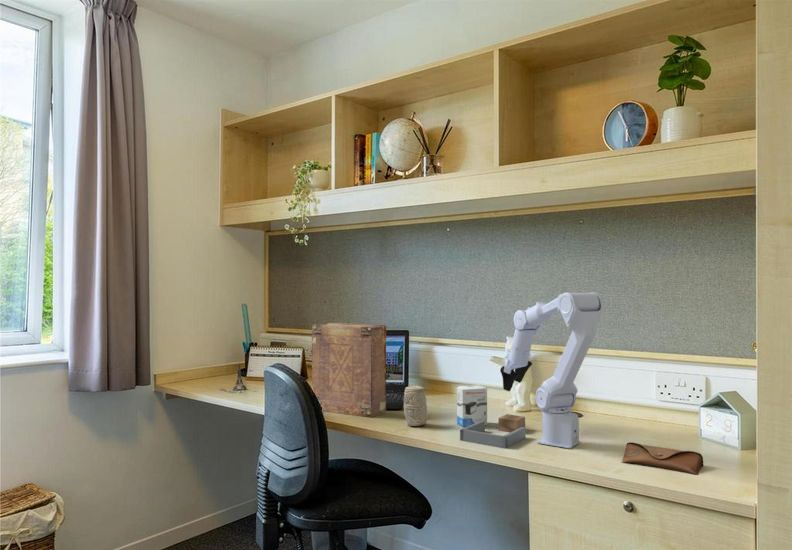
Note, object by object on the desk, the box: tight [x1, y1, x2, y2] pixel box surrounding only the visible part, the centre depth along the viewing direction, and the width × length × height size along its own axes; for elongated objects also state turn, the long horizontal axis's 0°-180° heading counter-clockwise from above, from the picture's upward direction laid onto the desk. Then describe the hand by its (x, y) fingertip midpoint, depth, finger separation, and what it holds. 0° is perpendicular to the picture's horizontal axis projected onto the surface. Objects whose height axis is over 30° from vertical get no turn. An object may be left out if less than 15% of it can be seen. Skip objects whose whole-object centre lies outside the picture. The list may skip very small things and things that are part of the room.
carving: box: [403, 385, 428, 427], centre depth 184 cm, size 6×8×12 cm
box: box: [459, 421, 526, 449], centre depth 168 cm, size 14×13×3 cm
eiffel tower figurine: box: [218, 360, 255, 394], centre depth 245 cm, size 15×10×13 cm
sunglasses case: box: [620, 442, 704, 476], centre depth 144 cm, size 18×7×7 cm
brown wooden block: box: [497, 413, 526, 433], centre depth 178 cm, size 6×6×4 cm
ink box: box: [456, 384, 488, 428], centre depth 185 cm, size 8×5×12 cm, turn 105°
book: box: [311, 322, 387, 418], centre depth 205 cm, size 25×9×30 cm, turn 59°
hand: (512, 385), depth 184 cm, fingers open, 7 cm apart
